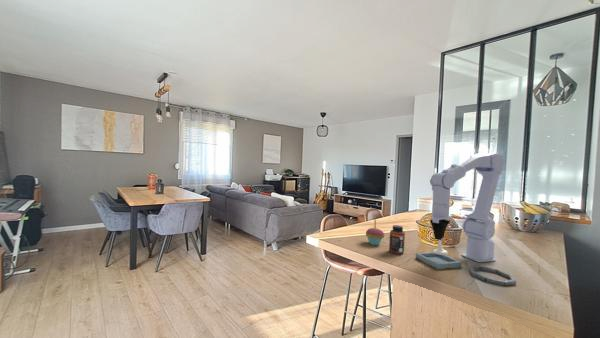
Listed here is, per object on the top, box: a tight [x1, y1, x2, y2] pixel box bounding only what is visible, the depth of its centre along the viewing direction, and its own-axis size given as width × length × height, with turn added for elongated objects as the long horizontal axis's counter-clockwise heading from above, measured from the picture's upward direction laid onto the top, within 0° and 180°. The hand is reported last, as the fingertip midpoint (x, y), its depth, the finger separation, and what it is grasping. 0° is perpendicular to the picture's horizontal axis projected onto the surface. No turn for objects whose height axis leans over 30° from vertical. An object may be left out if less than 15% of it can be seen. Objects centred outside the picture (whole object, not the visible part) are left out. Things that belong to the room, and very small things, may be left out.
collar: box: [469, 265, 517, 287], centre depth 85 cm, size 12×12×1 cm
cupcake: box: [365, 218, 385, 246], centre depth 117 cm, size 9×8×12 cm
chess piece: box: [432, 237, 449, 256], centre depth 96 cm, size 5×5×10 cm
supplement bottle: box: [388, 224, 406, 255], centre depth 106 cm, size 6×6×11 cm
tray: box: [415, 251, 463, 270], centre depth 96 cm, size 11×11×2 cm
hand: (439, 238), depth 96 cm, fingers closed on chess piece, 2 cm apart
